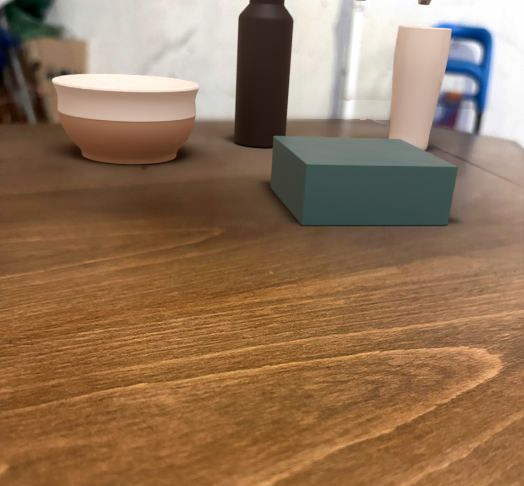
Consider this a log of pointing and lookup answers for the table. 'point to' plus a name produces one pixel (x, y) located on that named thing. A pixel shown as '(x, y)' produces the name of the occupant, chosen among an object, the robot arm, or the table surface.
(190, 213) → the table surface
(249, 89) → the bottle
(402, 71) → the drinking glass
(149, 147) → the bowl
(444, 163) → the stand
